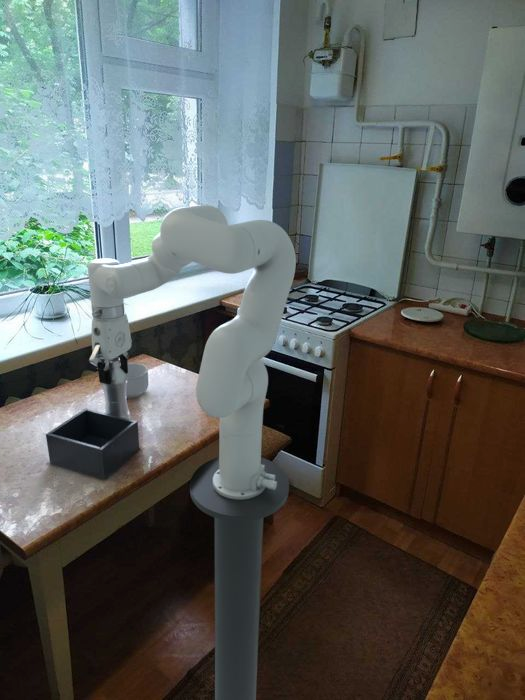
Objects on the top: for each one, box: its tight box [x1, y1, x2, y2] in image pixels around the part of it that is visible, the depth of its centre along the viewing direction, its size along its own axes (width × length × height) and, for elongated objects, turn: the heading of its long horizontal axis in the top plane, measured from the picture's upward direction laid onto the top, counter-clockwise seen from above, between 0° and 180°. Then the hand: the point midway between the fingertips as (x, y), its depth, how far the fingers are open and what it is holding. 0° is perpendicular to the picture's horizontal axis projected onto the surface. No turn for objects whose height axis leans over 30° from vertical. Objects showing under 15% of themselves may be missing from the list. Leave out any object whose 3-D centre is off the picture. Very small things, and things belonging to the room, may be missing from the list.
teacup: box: [126, 362, 149, 399], centre depth 150 cm, size 14×11×8 cm
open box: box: [45, 408, 140, 481], centre depth 118 cm, size 16×14×8 cm
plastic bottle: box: [101, 357, 132, 420], centre depth 128 cm, size 6×7×20 cm
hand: (114, 377), depth 127 cm, fingers closed on plastic bottle, 6 cm apart
